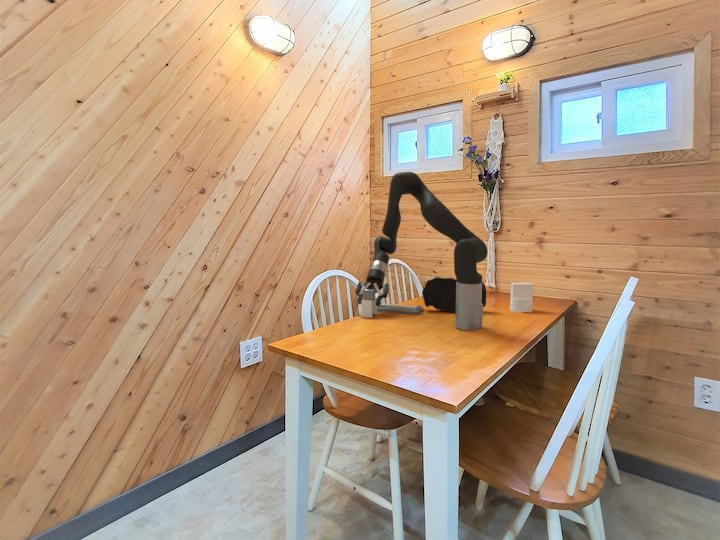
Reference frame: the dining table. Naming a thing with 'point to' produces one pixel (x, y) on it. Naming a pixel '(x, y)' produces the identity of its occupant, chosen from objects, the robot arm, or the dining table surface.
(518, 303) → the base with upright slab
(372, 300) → the din module
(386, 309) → the rail plate
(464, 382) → the dining table surface
